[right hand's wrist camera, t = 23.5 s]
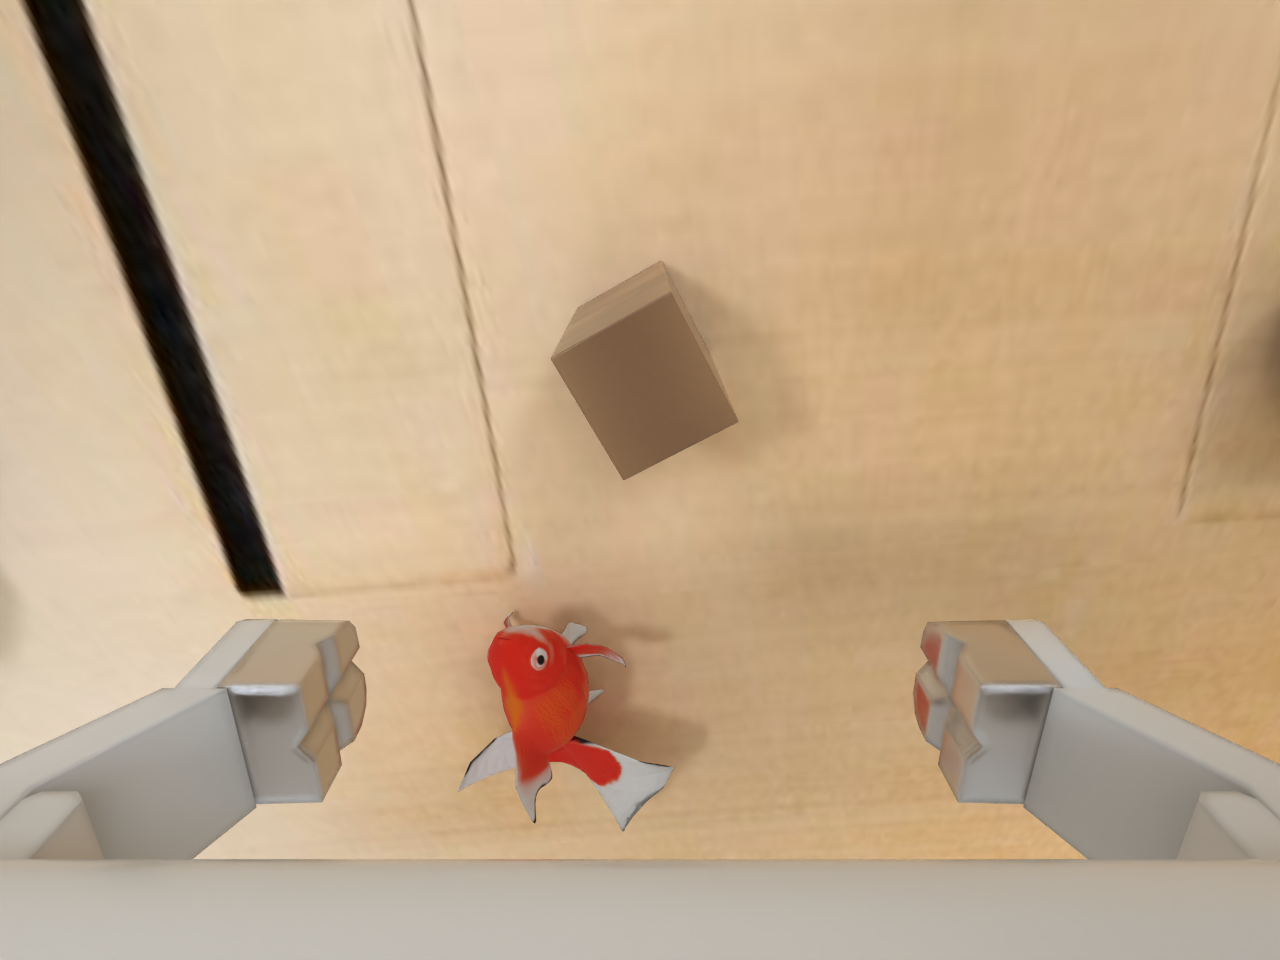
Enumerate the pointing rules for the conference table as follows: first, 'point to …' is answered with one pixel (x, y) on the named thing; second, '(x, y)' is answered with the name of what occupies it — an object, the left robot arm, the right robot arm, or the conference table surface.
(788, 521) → the conference table surface
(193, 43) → the conference table surface
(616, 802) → the fish
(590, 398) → the brick
